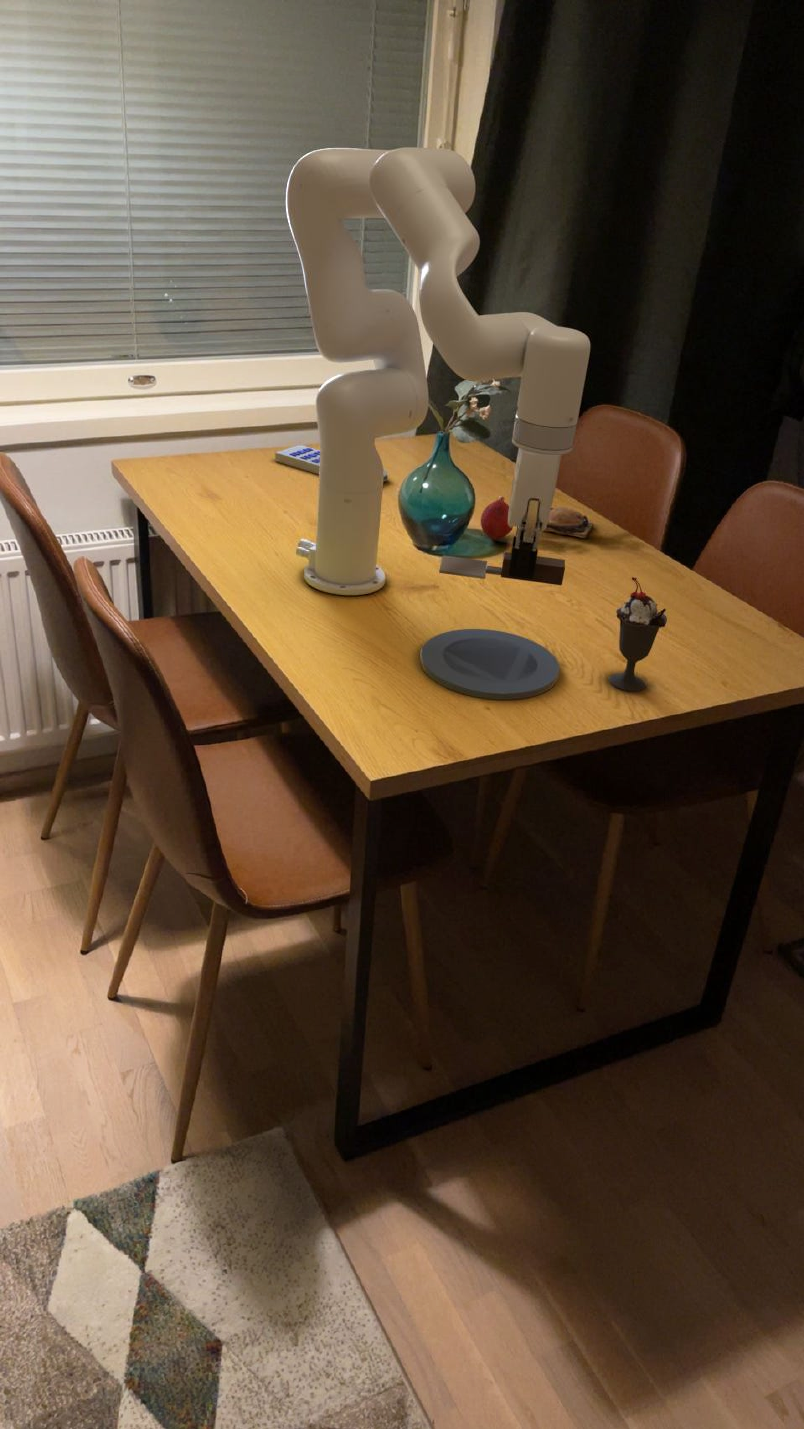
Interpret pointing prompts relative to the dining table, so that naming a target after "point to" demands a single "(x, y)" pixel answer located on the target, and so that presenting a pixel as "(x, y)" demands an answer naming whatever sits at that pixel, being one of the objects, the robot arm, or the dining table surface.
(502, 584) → the dining table surface
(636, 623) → the sundae
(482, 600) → the dining table surface
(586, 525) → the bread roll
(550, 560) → the spatula
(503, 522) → the onion
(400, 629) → the dining table surface
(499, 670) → the plate
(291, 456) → the remote control
